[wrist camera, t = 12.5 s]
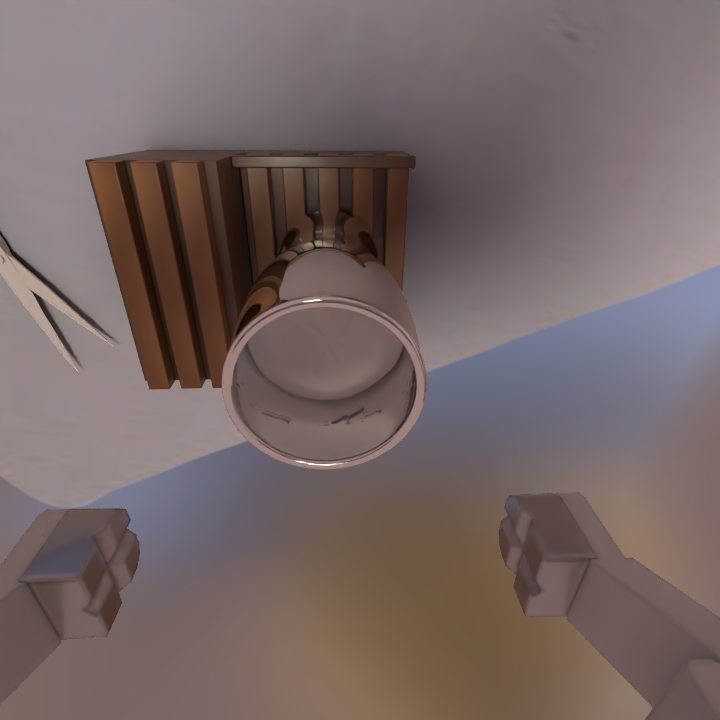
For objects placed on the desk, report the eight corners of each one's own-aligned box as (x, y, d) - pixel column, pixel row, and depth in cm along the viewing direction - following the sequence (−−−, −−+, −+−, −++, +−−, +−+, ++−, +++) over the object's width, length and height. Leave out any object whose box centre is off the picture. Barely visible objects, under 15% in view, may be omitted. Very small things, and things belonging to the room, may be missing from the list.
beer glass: (405, 270, 27) (473, 407, 14) (320, 331, 29) (311, 503, 16) (338, 176, 25) (346, 239, 11) (248, 250, 26) (165, 378, 13)
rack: (403, 151, 28) (431, 163, 20) (394, 322, 34) (413, 383, 26) (148, 149, 27) (73, 161, 19) (184, 325, 33) (138, 390, 25)
